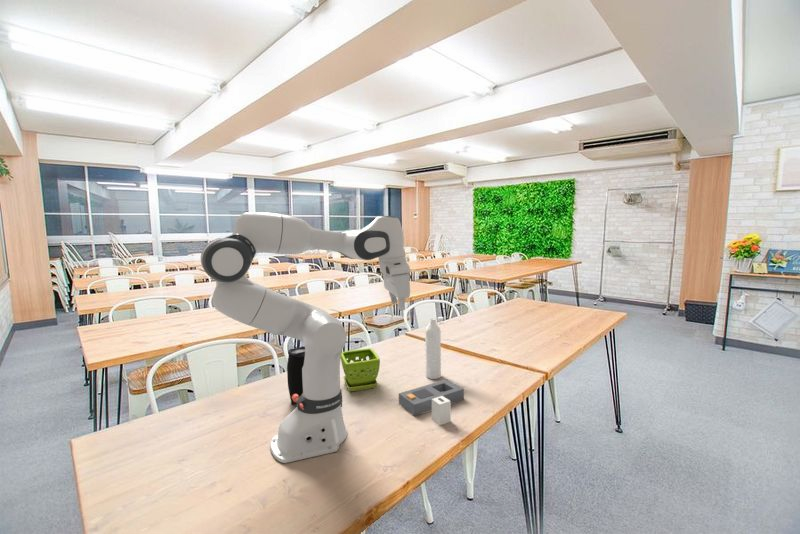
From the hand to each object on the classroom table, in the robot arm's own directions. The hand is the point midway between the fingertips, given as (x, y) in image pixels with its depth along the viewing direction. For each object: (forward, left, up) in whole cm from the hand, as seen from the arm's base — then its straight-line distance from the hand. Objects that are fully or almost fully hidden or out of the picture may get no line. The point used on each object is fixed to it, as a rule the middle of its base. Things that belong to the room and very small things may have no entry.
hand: (398, 306), depth 119 cm
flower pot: (-2, +28, -38) cm, 47 cm away
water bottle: (+29, +19, -38) cm, 51 cm away
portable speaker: (-26, +28, -38) cm, 54 cm away
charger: (+9, -11, -38) cm, 40 cm away
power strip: (+14, +1, -38) cm, 40 cm away
